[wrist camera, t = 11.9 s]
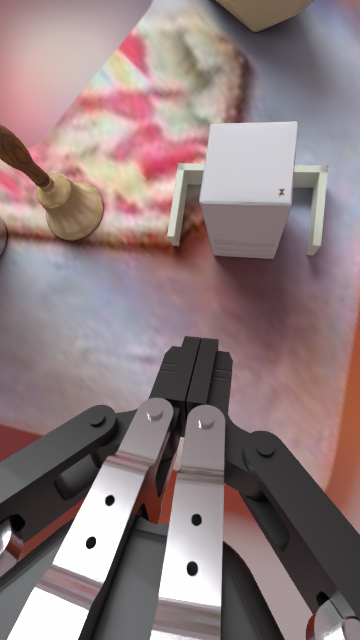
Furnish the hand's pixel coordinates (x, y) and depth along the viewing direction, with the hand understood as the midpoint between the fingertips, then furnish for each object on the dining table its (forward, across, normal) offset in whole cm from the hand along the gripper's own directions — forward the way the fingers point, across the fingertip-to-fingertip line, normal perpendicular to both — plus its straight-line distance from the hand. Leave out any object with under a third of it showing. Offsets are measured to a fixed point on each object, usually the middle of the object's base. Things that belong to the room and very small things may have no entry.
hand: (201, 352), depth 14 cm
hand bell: (+28, +22, +3) cm, 35 cm away
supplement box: (+27, -1, +4) cm, 27 cm away
